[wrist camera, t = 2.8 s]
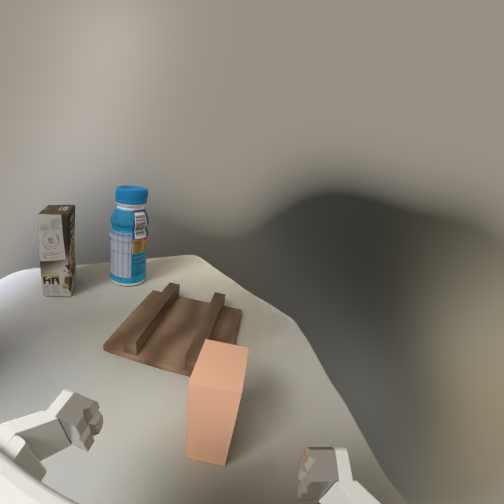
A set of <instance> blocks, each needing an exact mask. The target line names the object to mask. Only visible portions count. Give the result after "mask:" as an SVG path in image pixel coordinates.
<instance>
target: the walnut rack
mask: <svg viewBox="0 0 504 504" xmlns="http://www.w3.org/2000/svg"><path fill="white" fill-rule="evenodd" d="M179 288H180V285H178V284H174V283H169V284H168V286H167V287H166V288H165V289H164V290H163V291H162V292H158V291H154V290H153V291H152V292H151V293H150V294H149V295H148V296H147V297H146V298H145V300H144V301H143V302H142V303H141V304H140V305H139V306H138V307H137V308H136V309H135V310H134V311H133V313H132V314H131V315H130V316H129V317H128V318H127V319H126V320H125V321H124V322H123V323H122V325H121V326H120V327H119V328H118V329H117V330H116V331H115V332H114V333H113V335H112V336H111V337H110V338H109V339H108V340H107V341H106V342H105V344H104V345H103V346H104V350H105V351H107V352H110V353H113V354H116V355H119V356H122V357H125V358H128V359H131V360H134V361H137V362H140V363H143V364H147V365H150V366H153V367H157V368H160V369H164V370H167V371H171V372H175V373H178V374H182V375H186V376H190V377H191V374H192V372H193V369H194V367H195V364H196V362H197V359H198V357H199V354H200V352H201V349H202V347H203V344H204V342H205V339H208V340H213V341H218V342H222V343H227V344H232V345H234V342H235V337H236V333H237V329H238V325H239V321H240V317H241V312H242V310H241V309H236V308H231V307H226V306H224V302H225V295H226V294H221V293H216V292H215V294H214V296H213V298H212V300H211V302H210V303H207V302H202V301H197V300H193V299H188V298H184V297H180V296H179Z"/></svg>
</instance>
